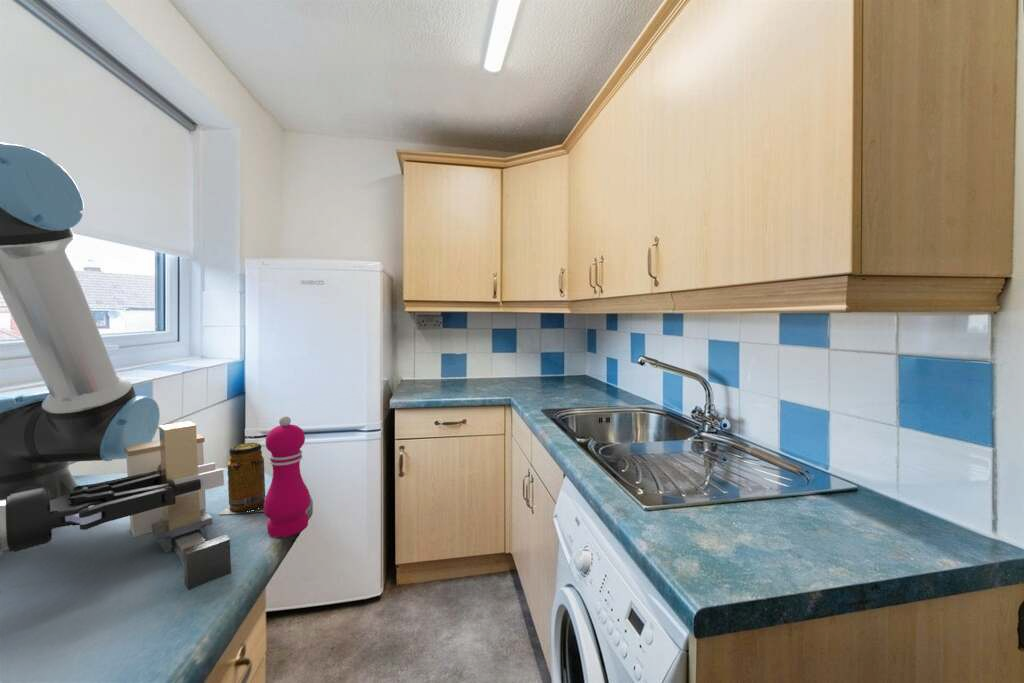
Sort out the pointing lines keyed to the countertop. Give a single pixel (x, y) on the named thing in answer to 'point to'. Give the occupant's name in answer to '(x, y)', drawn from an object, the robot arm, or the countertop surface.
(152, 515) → the end cabinet
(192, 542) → the rail
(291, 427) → the pepper mill
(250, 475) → the condiment
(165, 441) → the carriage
